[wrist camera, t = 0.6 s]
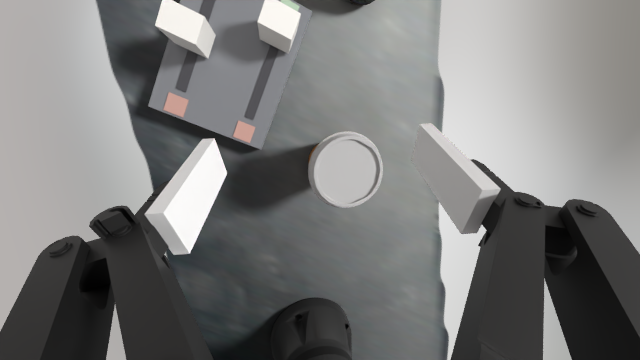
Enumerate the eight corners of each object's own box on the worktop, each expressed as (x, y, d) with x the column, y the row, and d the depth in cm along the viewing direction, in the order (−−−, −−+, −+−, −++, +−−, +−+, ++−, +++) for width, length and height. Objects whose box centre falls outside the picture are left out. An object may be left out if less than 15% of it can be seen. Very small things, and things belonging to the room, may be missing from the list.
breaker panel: (262, 148, 36) (261, 149, 33) (159, 108, 33) (147, 106, 30) (309, 21, 34) (312, 10, 31) (204, -38, 30) (196, -56, 27)
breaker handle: (288, 54, 31) (291, 39, 26) (259, 39, 30) (257, 21, 25) (296, 31, 31) (301, 13, 26) (267, 16, 30) (266, -6, 25)
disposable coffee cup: (295, 185, 39) (304, 207, 27) (302, 127, 37) (316, 125, 26) (348, 190, 41) (378, 213, 29) (358, 136, 39) (393, 137, 28)
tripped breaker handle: (208, 58, 30) (195, 44, 25) (174, 43, 29) (154, 25, 24) (215, 35, 29) (204, 16, 24) (182, 19, 28) (163, -5, 23)
